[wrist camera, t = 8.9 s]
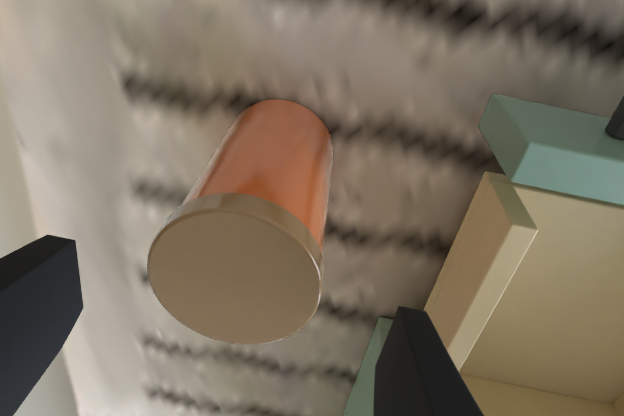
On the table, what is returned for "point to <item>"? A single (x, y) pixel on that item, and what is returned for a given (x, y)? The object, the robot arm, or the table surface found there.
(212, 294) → the spice jar
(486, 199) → the drawer
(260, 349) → the table surface
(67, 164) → the table surface
